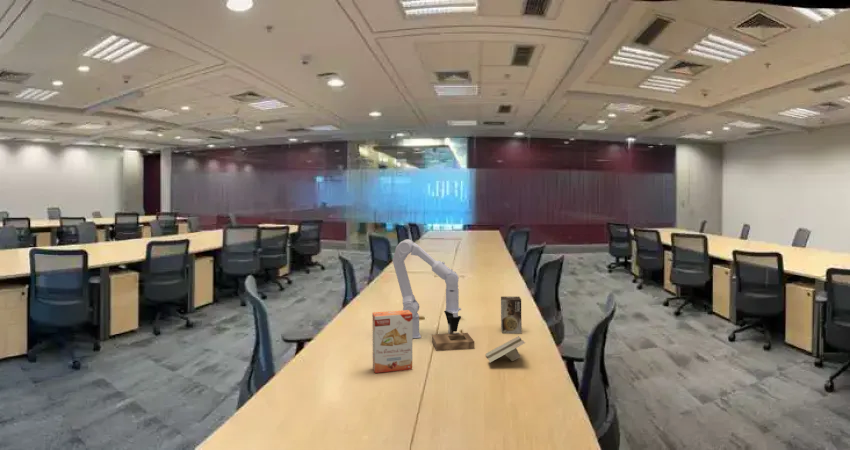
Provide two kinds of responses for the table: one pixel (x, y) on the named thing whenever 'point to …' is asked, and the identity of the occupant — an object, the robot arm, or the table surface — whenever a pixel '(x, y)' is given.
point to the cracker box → (392, 341)
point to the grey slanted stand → (506, 350)
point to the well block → (452, 341)
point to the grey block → (450, 329)
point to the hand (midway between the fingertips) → (452, 328)
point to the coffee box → (511, 315)
